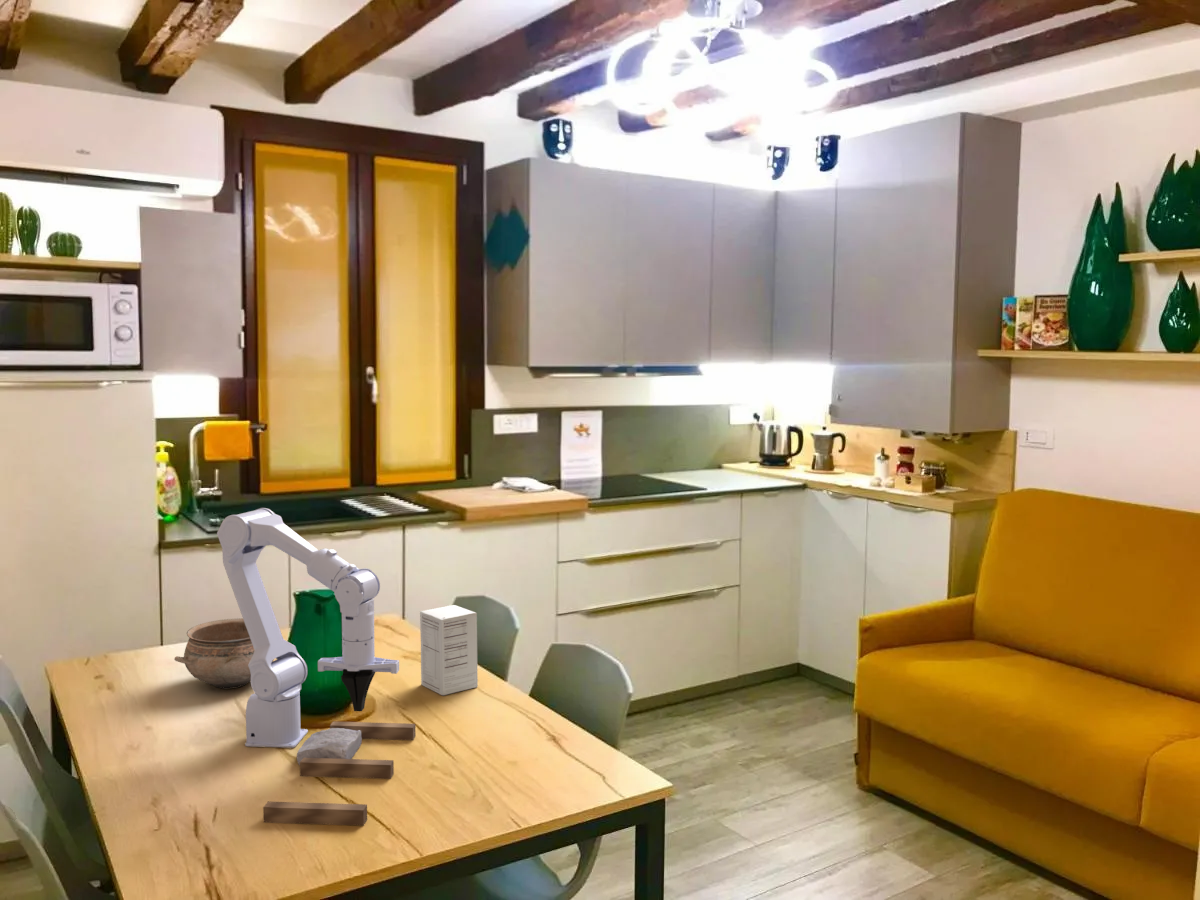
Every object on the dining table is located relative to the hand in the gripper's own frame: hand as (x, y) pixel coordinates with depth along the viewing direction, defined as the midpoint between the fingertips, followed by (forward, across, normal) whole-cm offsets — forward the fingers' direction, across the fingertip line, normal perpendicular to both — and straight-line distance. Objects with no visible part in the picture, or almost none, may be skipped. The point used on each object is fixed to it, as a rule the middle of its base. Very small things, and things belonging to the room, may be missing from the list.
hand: (359, 709), depth 186 cm
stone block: (+9, -6, -1) cm, 11 cm away
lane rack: (+8, 0, -9) cm, 13 cm away
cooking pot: (+9, -39, +35) cm, 53 cm away
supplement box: (+9, +9, +37) cm, 39 cm away
